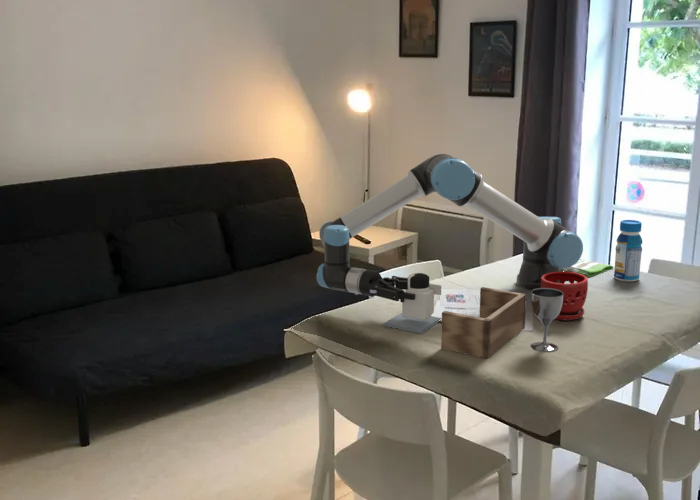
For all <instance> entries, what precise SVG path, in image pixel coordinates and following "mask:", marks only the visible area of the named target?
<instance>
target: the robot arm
mask: <svg viewBox="0 0 700 500" xmlns="http://www.w3.org/2000/svg"><path fill="white" fill-rule="evenodd" d="M432 193H437V194H438V196H439V195H440V196H441V197H442V198H444V199H447V200H448V201H450V202H452V203H453V204H455V205H457V206H458V207H465V206H467V207H470V208H471V209H472V210H474V211H475V212H477V213H479V214H480V215H482V216H483V217H485V218H486V219H488V220H490V221H491V222H493V223H494V224H496V225H497V226H499V227H501V228H503V229H504V230H505V231H506V232H507V231H508V232H509V233H511V235H514V236H515V237H517V238H518V239H520V240H522V241H523V248H522V262H521V266H520V268H519V271H518V274H517V275H516V281H515V282H516V285H517V286H518V287H520V288H522V289H525V290H531V291H532V290H534V289H537V288H541V277H542V276H543V275H544V274H547V273H551V272H561V270H560V268H561V269H565V268H569V267H571V266H573V265H574V264H576V263H577V262H578V261H579V259H581V257H582V255H583V252H584V248H583V247H584V244H583V241H582V239H581V238H580V236H579V235H578V234H577V233H575V232H574V231H570V230H569V229H567V228H565V227H564V226H563V225H562V219H561V218H560V217H558V216H538V215H536V214H534V213H533V212H531V211H530V210H528V209H526V208H525V207H524V206H522V205H520V204H519V203H517V202H516V201H514V200H513V199H511V198H509V197H508V196H506V195H505V194H504V193H502V192H500V191H498V190H497V189H496V188H494V187H493V186H491V185H489V184H488V183H486V182H485V181H484V180H483V175H482V173H480V172H479V171H477V170H476V169H475V168H473V167H471V166H470V165H469V164H468V163H467V162H466V161H464V160H462V159H460V158H457V157H454V156H452V155H450V154H445V153H439V154H435V155H432V156H430V157H429V158H427V159H425V160H424V161H422V162H421V163H419V164H418V165H416V166H414V167H413V168H411V169H410V170H408V172H407V175H406V176H404V177H402V178H401V179H399V180H398V181H396V182H394V183H393V184H391V185H389V186H388V187H387V188H385V189H383V190H382V191H380V192H378V193H377V194H375V195H374V196H371V197H370V198H369V199H367V200H366V201H364V202H363V203H361V204H359V205H358V206H355V207H354V208H352V209H351V210H350V211H348V212H346V213H344V214H343V215H342V216H340V217H338V218H336V219H335V220H333V221H327V222H324V223H323V224H322V225H321V226H320V228H319V233H318V234H319V240H320V242H321V243H322V246H323V248H324V249H323V250H324V251H323V252H324V263H321V264H320V265H319V266H318V269H317V273H316V281H317V284H318V285H319V286H320V287H322V288H326V289H330V290H333V291H341V292H346V293H347V292H348V293H352V294H354V295H356V296H358V295H363V296H367V297H377V298H378V297H379V298H383V299H387V300H391V301H394V302H399V301H400V303H402V302H404V299H405V300H411V301H416V302H422V303H427V293H423V292H418V291H412V290H408V277H403V276H401V277H400V276H397V275H391V278H390V277H389V276H388V277H382V275H381V273H380V272H379V271H377V270H373V269H364V268H360V267H354V266H350V261H351V260H350V240H351V239H352V238H353V237H355V236H357V235H358V234H360V233H362V232H363V231H365V230H367V229H368V228H370V227H372V226H374V225H375V224H376V223H378V222H380V221H381V220H383V219H385V218H386V217H388V216H390V215H392V214H393V213H394V212H397V211H399V210H400V209H401V208H403V207H404V206H406V205H408V204H409V203H411V202H413V201H414V200H416V199H418V198H419V197H422V198H423V197H424V198H426V197H427V196H429V195H431V194H432ZM556 283H560V281H557V282H556ZM429 289H433V290H434V295H437V296H441V295H442V285H440V284H434V283H429Z"/></svg>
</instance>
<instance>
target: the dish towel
mask: <svg viewBox="0 0 700 500" xmlns="http://www.w3.org/2000/svg"><path fill="white" fill-rule="evenodd" d="M611 269H612V270H614V266H613V265H611V264H605V263H600V262H596V261H595V262H594V261H589V260H585V259H581V258H580V259H579V261H578V262H577V263H576V264H574V265H573V266H571V267H569V268H565V269H561V268H560V270H561V271H564V272H574V273H579V274H582V275H584V276H586V277H587V278H591V277H593V276H596V275H599V274H602V273H604V272H605V273H606V272H607V271H610V270H611Z"/></svg>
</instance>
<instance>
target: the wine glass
mask: <svg viewBox="0 0 700 500" xmlns="http://www.w3.org/2000/svg"><path fill="white" fill-rule="evenodd" d="M530 296H531V297H530V299H531V300H530V301H531V302H530V303H531V308H532V312H533V314H534V316H535V317H536V318H537V319H538V320H539V321H540V323H541V327H542V329H543V331H542V332H543V338H542V339H543V340H542V341H537V342H533V343H531V344H530V349H532V350H534V351H537V352H541V351H542V353H552V352H556V351H558V350H559V346H558V345H557V344H555V343H553V342H548V341H547V336H548V331H549V326H550V325H551V323H552V322H553V321H555V320H556V319H555V318H556V317H557V316H558V315H559V314H560V311H561V308H562V304H563V292H562V291H560V290H557V289H553V288H537V289H534V290H531V294H530Z"/></svg>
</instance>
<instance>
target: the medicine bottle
mask: <svg viewBox="0 0 700 500" xmlns="http://www.w3.org/2000/svg"><path fill="white" fill-rule="evenodd" d="M407 278H408V290H412V291H418V292H423V293H427V303H422V302H416V301H411V300H405V299H404V302H401V305H402V306H401V307H402V309H401V313H402V317H405V318H412V319H419V320H426V319H427V318H429V317H430V316H432V315H433V314H434V313H435V294H434V290H433V289H429V284H430V276H429V275H428V274H426V273H423V272H415V273H411V274H409V275H408V276H407Z"/></svg>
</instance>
